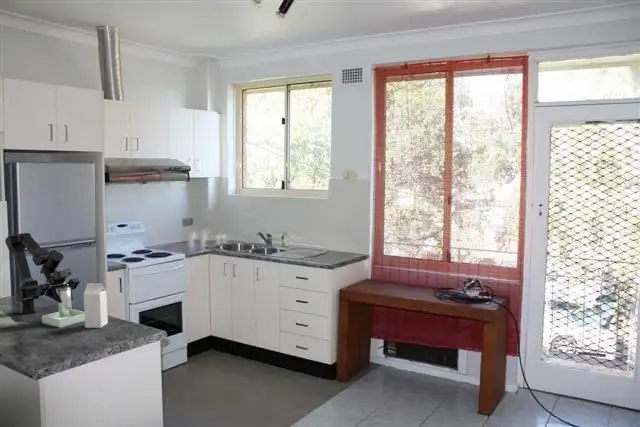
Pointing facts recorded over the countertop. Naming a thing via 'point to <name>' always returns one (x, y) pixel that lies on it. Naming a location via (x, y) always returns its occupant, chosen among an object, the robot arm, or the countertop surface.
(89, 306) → the milk carton
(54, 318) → the tray
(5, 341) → the countertop surface
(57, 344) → the countertop surface
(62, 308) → the steel canister
